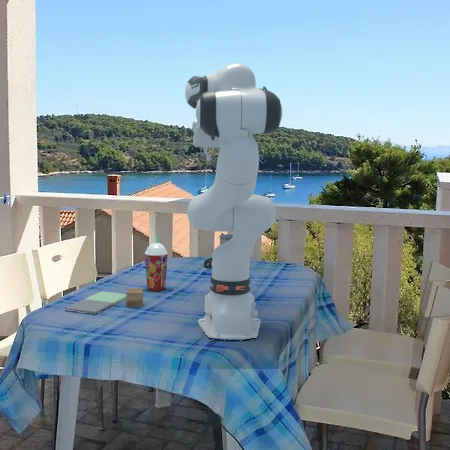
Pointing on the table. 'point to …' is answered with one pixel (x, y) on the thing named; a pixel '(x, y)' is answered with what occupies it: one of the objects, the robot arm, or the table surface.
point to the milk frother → (222, 240)
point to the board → (97, 302)
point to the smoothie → (156, 266)
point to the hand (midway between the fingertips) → (222, 161)
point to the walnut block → (134, 297)
